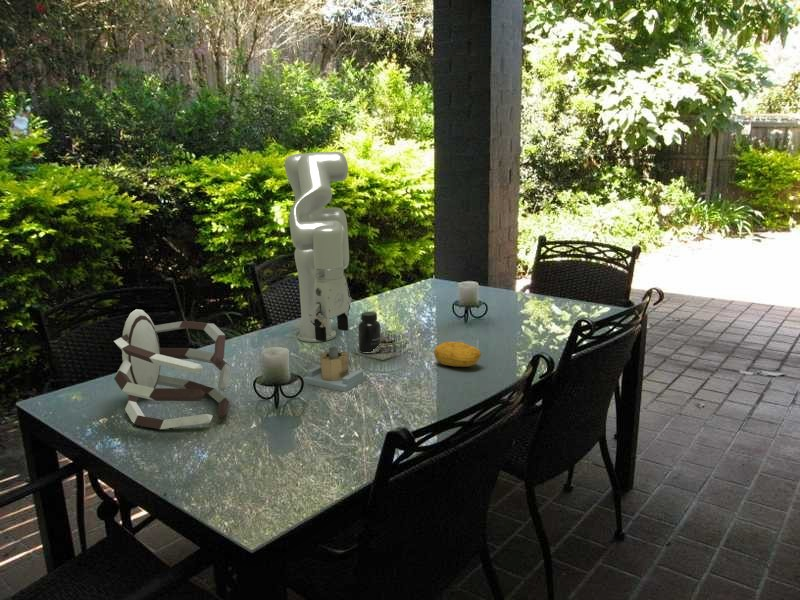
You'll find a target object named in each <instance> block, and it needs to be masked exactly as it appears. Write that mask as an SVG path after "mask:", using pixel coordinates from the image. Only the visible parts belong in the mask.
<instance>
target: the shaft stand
mask: <svg viewBox="0 0 800 600" xmlns="http://www.w3.org/2000/svg"><path fill="white" fill-rule="evenodd" d="M328 351H329V358H336V357H338V351H339V348H338V347H337V346H330V347H329V348H328ZM367 377H368V376H367V374H366V373H364V371H363V370H359V369H357V370H355V371H351V370H349V375H347V376H345V377H344V378H342V380H338V381H328V380H323V379H322V377H321V366H320V364H318V365H316V366H314V367H312V368H310V369H308V370H306V376H304V377H303V378H302V381H303V380H304V382H305V383H304V384H306V385H311V386H316V387H320V388H324V389H330V390H334V391H338V392H343V393H346V392H348V391H350V390H351V389H353V388H355V387H357V386H359V385H360V384H362V383H363V382H366V381H367V380H368V378H367Z"/></svg>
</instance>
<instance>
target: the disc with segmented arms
mask: <svg viewBox="0 0 800 600" xmlns="http://www.w3.org/2000/svg"><path fill="white" fill-rule="evenodd" d="M182 329H183V330H184V329H190V330H191V329H192V330H201V331H204V332H205V333H206V334H208V336H209V337H210V338H211V339H212V340H213V341H214V342H215V343H214V352H212V351H211V352H210V351H206V350H201V349H196V348H193V347H192V348H191V347H160V342H159V336H158V333H163V332H164V333H165V332H169V331H175V330H176V331H177V330H182ZM113 342H114V343H115V344H116V346H117V347H118V348H119V349H120V350H121V353H122V354H121V357H122V363H121V364H120V366H119V369H117V372H116V374H115V376H114V377H113V379H114V381H115V382H116V384H117V385H118V387H119V389H120V390H121V391H122V392H124V393H125V394H127V395H128V397H127V399H126V405H125V408H124V410H125V412H126V413H127V416H128V417H129V419H130V421H131V423H132V422H133V423H134V424H137V425H136V426H139V425H141V426H140V427H146V428H151V429H157V430H170V429H169V428H173V429H179V427H180V428H187V427H193V426H194V427H195V426H201V425H207V424H210V423H211V421H212V419H213V414H208V413H204V414H196V415H189V416H183V417H175V418H168V419H160V418H156V417H155V418H154V417H149V416H145V414H144V413H143V411H142V410H141V408H140V406H139V405H138V403H137V399H138V398H142V399H147V400H150V401H153V402H201V401H202V400H203V398H204V396H206V395H207V396H206V397H209V396H211V397H210V398H212V399H213V398H214V399H213V400H214V401H216V402H217V403H218V407H217V411H216V413H215V415H216V416H218V418H219V419H222V418H224V416H226V415H227V414H228V411H229V410H228V409H229V405H230V401H229V400H228V399H227V397H225V395H223V394H222V393H220V391H221V392H225V390H226V389H227V387H228V385H229V384H230V377H231V370H232V367H231V366H230V364H229V363H227V361H225V360H224V358H225V347H226V334H225V333H224V332H223V331H222V330H221V329H220V328H219V327H218V326H217V325H216V324H215V323H211V322H200V321H191V320H190V321H188V320H186V321H184V320H181V321H176V322H175V321H174V322H170V323H169V322H168V323H163V324H157V325H155V324H154V322H153V320H152V319H151V316H149V314H148V313H146V312H145V310H143V309H137V308H136V309H135V310H133V311H132V312H130V313H129V315H128V317H127V318H126V321H124V326H123V330H122V336H121V337H118V338H116V339H115V340H113ZM189 360H194V361H197V362H203V363H207V364H212V365H214V366H215V367H216V368H217V369H218V370H219V371H220V372H219V373H220V374H219V379H218V384H217V389H218V390H220V391H218V390H217V389H216V388H214V387H211V386H208V385H205V384H202V383H199V382H195V381H193V380H189V379H182V378H179V377H178V378H177V377H172V376H167V375H161V374H160V372H161V366H162V367H166V368H171V369H175V370H179V371H181V372H188V373H191V374H196V375H199V374H200V373H201V372H202V371H204V368H203V366H202V364H201V363H196V362H192V361H189ZM157 386H165V387H166V388H158V387H157ZM167 387H170V388H167ZM133 423H132V424H133ZM134 424H133V425H134Z"/></svg>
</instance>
